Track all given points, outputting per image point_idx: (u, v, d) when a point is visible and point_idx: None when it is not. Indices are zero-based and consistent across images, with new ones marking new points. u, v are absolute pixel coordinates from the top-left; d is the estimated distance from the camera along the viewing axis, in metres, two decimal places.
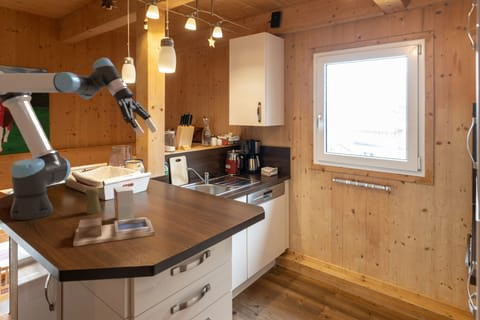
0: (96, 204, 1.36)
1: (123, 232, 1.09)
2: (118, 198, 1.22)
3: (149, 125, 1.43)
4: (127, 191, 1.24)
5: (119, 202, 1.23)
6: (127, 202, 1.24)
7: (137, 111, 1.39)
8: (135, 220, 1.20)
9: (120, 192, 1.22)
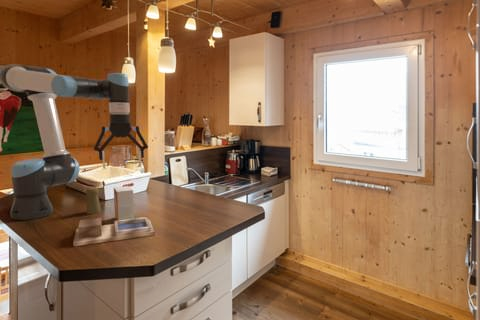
0: (96, 204, 1.36)
1: (123, 232, 1.09)
2: (118, 198, 1.22)
3: (138, 157, 1.28)
4: (127, 191, 1.24)
5: (119, 202, 1.23)
6: (127, 202, 1.24)
7: None
8: (135, 220, 1.20)
9: (120, 192, 1.22)
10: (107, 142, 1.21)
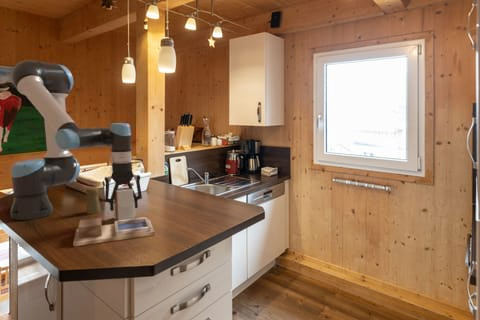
0: (96, 204, 1.36)
1: (123, 232, 1.09)
2: (118, 198, 1.22)
3: None
4: (127, 191, 1.24)
5: (119, 202, 1.23)
6: (127, 202, 1.24)
7: None
8: (135, 220, 1.20)
9: (120, 192, 1.22)
10: (114, 192, 1.24)
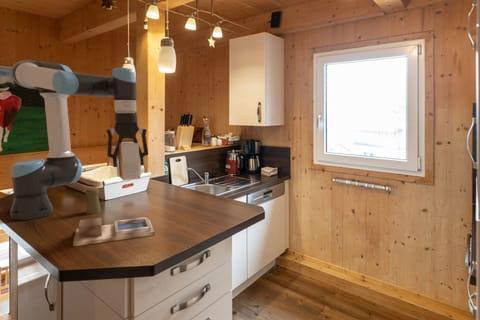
0: (96, 204, 1.36)
1: (123, 232, 1.09)
2: (122, 152, 1.10)
3: None
4: (132, 144, 1.11)
5: (123, 157, 1.10)
6: (132, 157, 1.12)
7: (133, 141, 1.15)
8: (135, 220, 1.20)
9: (124, 145, 1.10)
10: (118, 146, 1.12)
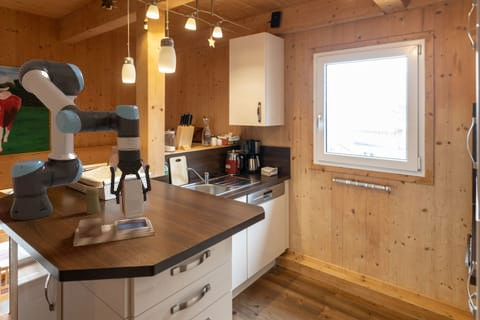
0: (96, 204, 1.36)
1: (123, 232, 1.09)
2: (125, 189, 1.08)
3: None
4: (135, 182, 1.10)
5: (126, 194, 1.09)
6: (135, 194, 1.10)
7: None
8: (135, 220, 1.20)
9: (127, 183, 1.09)
10: (121, 183, 1.11)
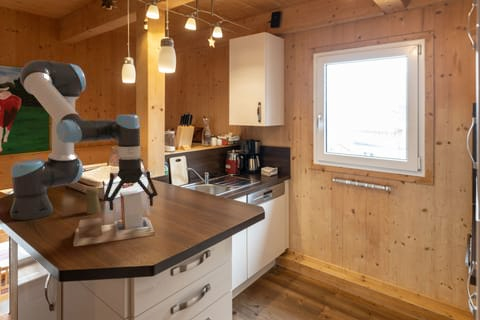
0: (96, 204, 1.36)
1: (123, 232, 1.09)
2: (125, 204, 1.09)
3: (147, 205, 1.17)
4: (135, 197, 1.10)
5: (126, 209, 1.10)
6: (134, 209, 1.11)
7: None
8: None
9: (127, 198, 1.09)
10: (117, 190, 1.10)
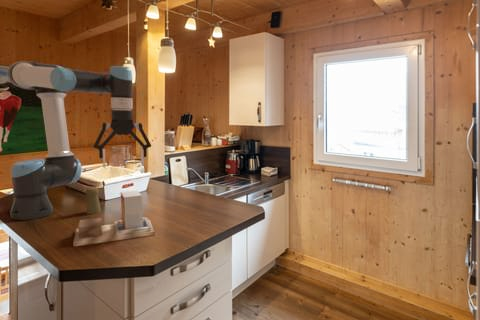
0: (96, 204, 1.36)
1: (123, 232, 1.09)
2: (125, 204, 1.09)
3: (141, 156, 1.21)
4: (135, 197, 1.11)
5: (126, 209, 1.10)
6: (135, 209, 1.11)
7: (133, 136, 1.18)
8: None
9: (127, 198, 1.09)
10: (108, 139, 1.14)
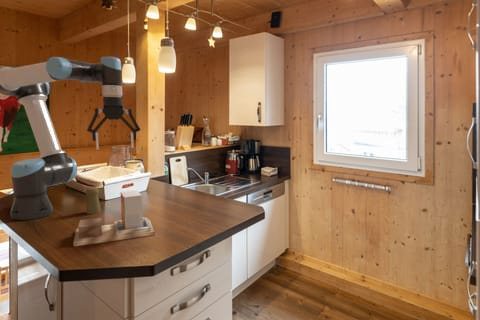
0: (96, 204, 1.36)
1: (123, 232, 1.09)
2: (125, 204, 1.09)
3: (131, 139, 1.32)
4: (135, 197, 1.11)
5: (126, 209, 1.10)
6: (135, 209, 1.11)
7: (123, 121, 1.30)
8: None
9: (127, 198, 1.09)
10: (100, 124, 1.25)
